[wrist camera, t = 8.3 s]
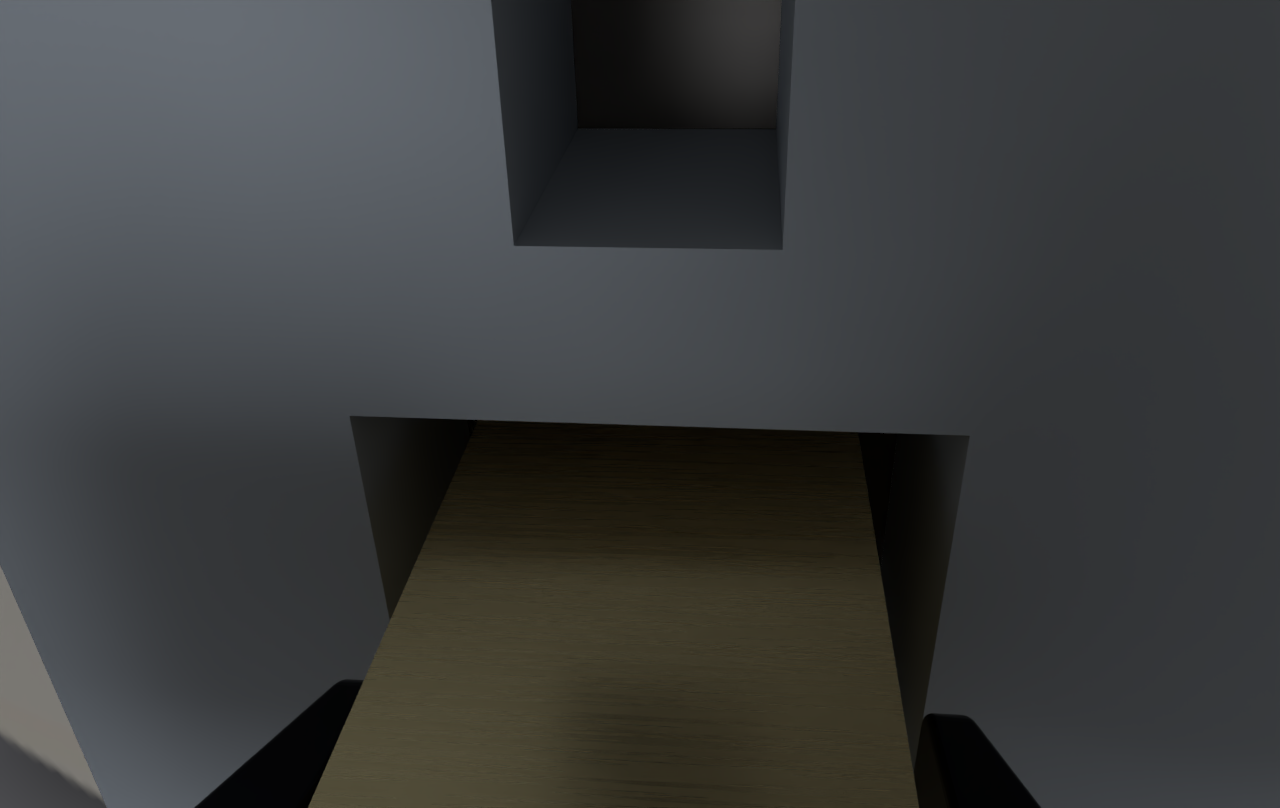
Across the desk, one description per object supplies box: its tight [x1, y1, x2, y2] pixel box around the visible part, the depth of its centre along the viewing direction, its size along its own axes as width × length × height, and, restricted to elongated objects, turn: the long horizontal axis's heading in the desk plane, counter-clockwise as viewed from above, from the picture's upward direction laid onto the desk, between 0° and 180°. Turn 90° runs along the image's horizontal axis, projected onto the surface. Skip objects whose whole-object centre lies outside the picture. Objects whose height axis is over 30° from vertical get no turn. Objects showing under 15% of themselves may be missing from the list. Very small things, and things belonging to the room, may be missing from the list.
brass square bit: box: [308, 420, 919, 808], centre depth 10 cm, size 4×4×9 cm
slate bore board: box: [0, 0, 1280, 808], centre depth 10 cm, size 14×16×4 cm
